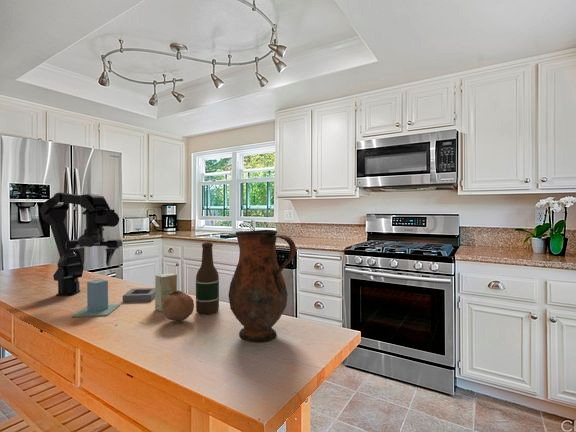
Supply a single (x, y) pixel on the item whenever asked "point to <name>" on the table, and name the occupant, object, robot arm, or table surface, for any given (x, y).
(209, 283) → the beer bottle
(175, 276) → the skincare box
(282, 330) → the table surface
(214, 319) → the table surface
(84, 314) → the green mat
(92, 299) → the tall square blue prism
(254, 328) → the pitcher
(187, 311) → the onion
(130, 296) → the square socket block
